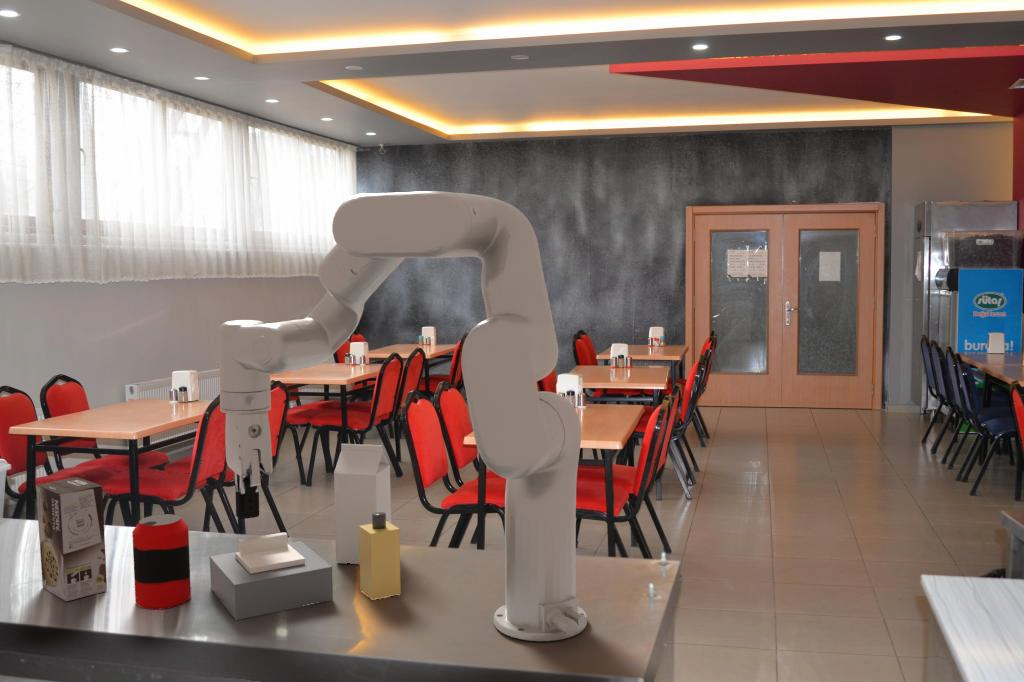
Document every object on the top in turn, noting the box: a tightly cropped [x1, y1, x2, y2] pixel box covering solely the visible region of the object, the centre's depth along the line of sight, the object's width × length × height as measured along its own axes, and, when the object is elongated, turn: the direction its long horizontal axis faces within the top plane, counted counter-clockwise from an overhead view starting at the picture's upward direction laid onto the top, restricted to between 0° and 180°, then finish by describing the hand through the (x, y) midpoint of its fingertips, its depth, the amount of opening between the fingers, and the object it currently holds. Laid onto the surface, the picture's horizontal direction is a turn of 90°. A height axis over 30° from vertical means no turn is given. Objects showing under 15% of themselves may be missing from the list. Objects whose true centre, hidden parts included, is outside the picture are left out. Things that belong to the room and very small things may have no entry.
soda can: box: [131, 513, 192, 610], centre depth 136 cm, size 8×8×12 cm
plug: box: [359, 512, 402, 599], centre depth 139 cm, size 4×4×12 cm
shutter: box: [235, 531, 305, 574], centre depth 138 cm, size 8×8×3 cm
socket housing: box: [209, 540, 334, 621], centre depth 138 cm, size 14×14×5 cm
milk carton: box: [333, 443, 392, 565], centre depth 154 cm, size 7×7×19 cm
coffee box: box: [35, 476, 108, 602], centre depth 140 cm, size 9×6×16 cm
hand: (247, 516), depth 147 cm, fingers closed
